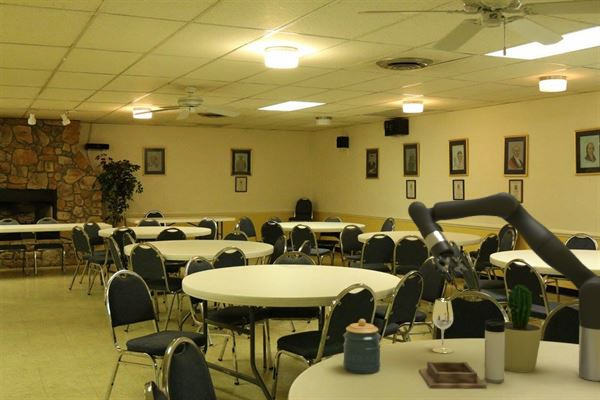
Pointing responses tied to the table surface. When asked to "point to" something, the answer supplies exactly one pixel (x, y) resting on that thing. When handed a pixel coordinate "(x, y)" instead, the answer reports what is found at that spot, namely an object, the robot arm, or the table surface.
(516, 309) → the potted cactus
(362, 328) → the canister
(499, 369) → the travel mug
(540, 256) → the robot arm
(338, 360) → the table surface
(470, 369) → the square wooden tray
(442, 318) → the wineglass
